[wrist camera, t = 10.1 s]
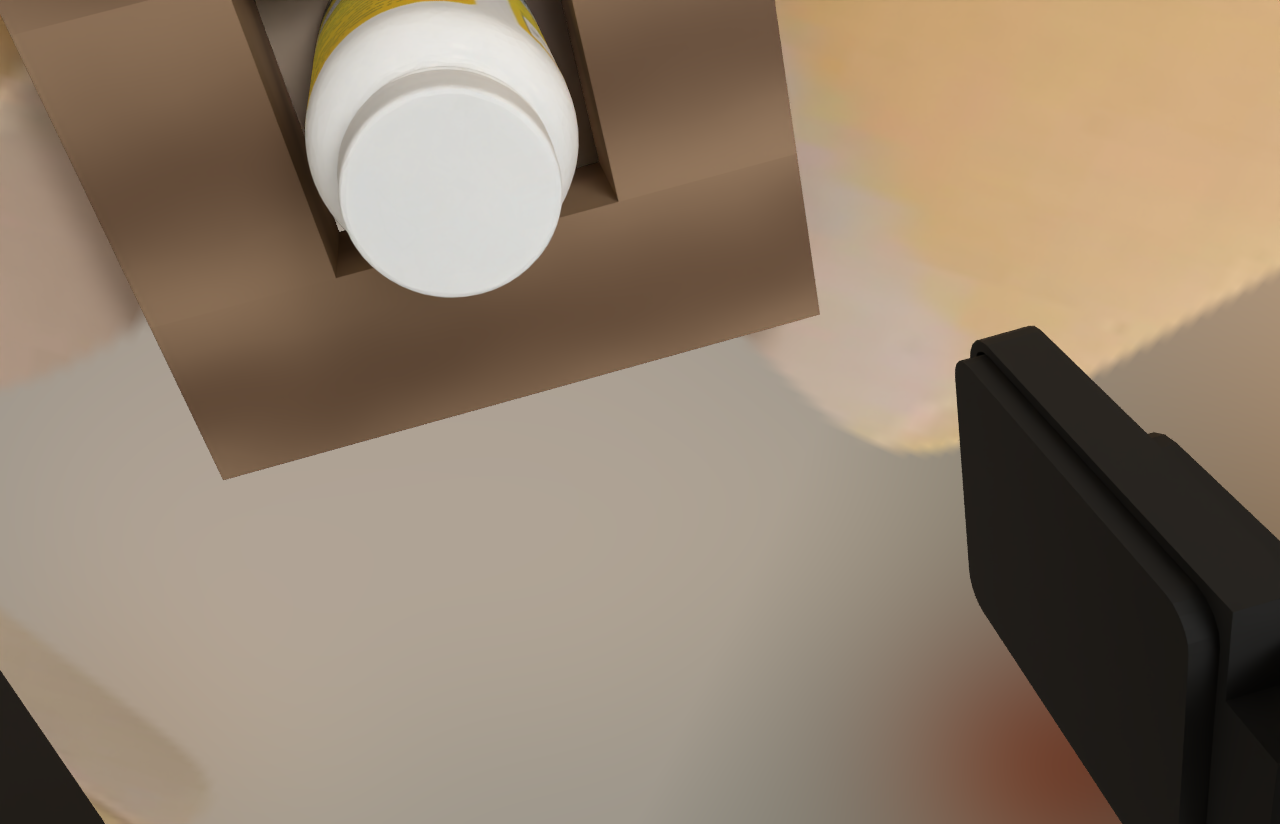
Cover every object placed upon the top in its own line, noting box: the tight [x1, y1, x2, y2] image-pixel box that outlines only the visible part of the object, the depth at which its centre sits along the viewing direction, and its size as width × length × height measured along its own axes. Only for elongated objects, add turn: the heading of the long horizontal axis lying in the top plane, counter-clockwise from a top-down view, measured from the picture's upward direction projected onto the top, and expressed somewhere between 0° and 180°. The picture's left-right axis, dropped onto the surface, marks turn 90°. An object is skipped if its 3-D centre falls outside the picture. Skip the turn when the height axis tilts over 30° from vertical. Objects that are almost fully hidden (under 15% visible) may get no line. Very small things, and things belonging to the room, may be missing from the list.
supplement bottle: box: [305, 0, 579, 298], centre depth 26 cm, size 5×5×10 cm
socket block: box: [0, 0, 820, 480], centre depth 29 cm, size 16×16×3 cm
